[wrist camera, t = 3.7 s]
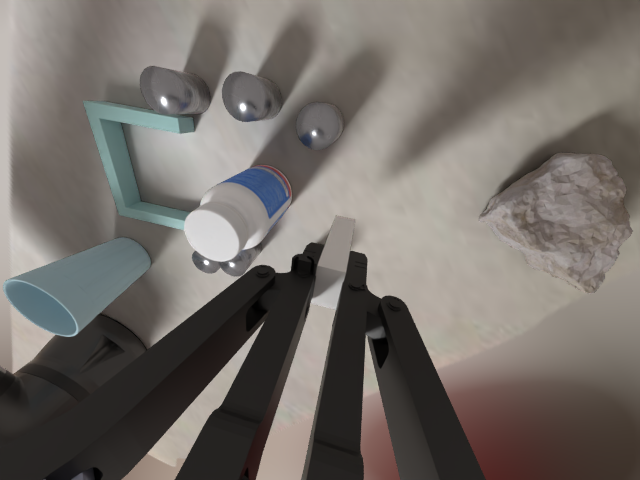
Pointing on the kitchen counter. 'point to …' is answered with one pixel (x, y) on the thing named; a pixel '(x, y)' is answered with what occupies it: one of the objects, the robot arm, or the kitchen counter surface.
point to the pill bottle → (238, 212)
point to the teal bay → (118, 162)
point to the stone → (565, 218)
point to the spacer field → (244, 105)
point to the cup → (77, 285)
